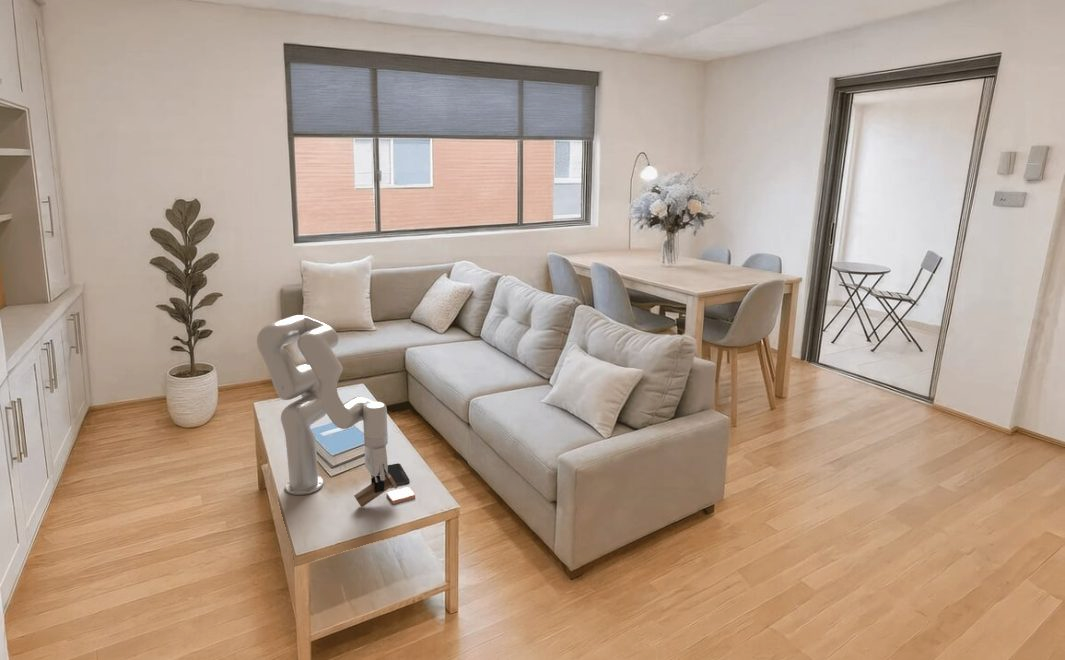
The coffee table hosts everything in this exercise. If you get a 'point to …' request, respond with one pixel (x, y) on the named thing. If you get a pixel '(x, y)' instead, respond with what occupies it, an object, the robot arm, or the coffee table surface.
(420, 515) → the coffee table surface
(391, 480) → the post on base stand
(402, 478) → the phone
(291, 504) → the coffee table surface
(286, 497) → the coffee table surface
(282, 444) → the coffee table surface
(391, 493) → the tile
